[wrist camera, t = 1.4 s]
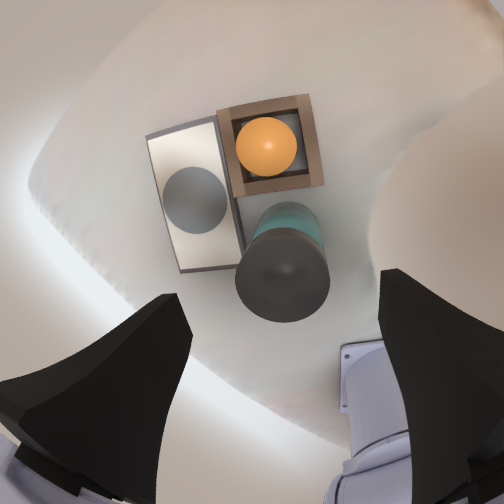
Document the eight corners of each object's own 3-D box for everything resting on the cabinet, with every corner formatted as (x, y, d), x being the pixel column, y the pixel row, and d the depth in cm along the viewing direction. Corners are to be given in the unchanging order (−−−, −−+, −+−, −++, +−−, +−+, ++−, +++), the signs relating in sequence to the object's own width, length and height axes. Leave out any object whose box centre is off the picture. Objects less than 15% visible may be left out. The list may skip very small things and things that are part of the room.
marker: (323, 257, 19) (332, 318, 12) (263, 263, 20) (245, 325, 13) (316, 197, 17) (325, 233, 11) (252, 205, 18) (225, 245, 12)
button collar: (320, 178, 17) (324, 185, 15) (242, 189, 18) (233, 197, 16) (307, 100, 15) (308, 93, 13) (227, 114, 16) (216, 110, 14)
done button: (300, 165, 15) (301, 171, 13) (252, 172, 16) (242, 180, 13) (292, 117, 14) (290, 112, 12) (243, 126, 15) (230, 123, 12)
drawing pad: (249, 262, 20) (246, 268, 19) (184, 268, 21) (179, 275, 20) (219, 116, 16) (214, 114, 15) (151, 135, 17) (143, 136, 16)
